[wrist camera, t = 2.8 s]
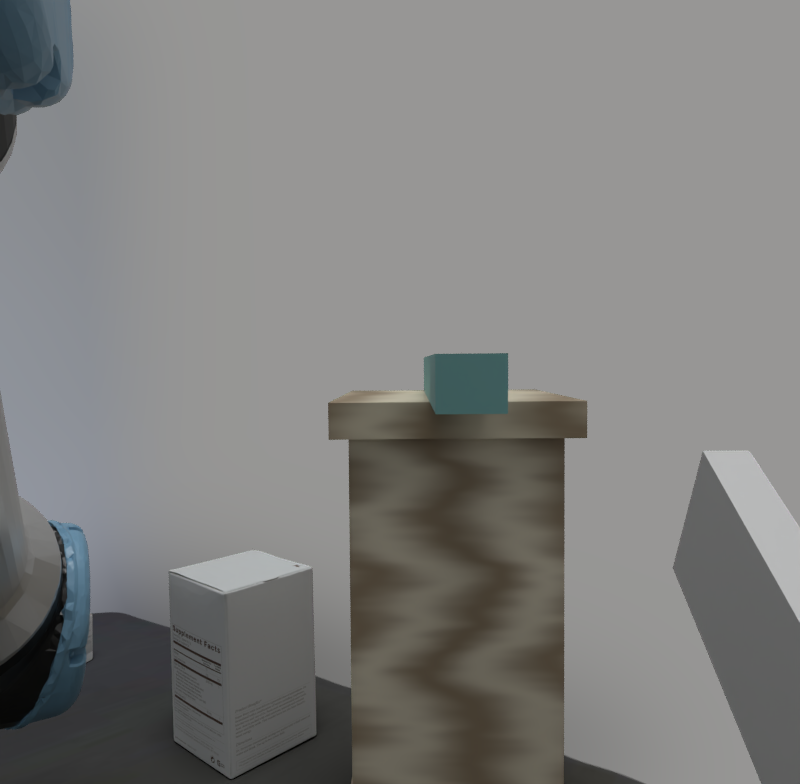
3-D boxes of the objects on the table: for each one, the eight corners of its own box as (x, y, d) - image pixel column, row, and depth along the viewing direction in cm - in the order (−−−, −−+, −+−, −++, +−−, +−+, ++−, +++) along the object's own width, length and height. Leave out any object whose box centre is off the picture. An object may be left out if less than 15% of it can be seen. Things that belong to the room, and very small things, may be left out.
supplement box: (257, 703, 67) (254, 546, 67) (319, 736, 61) (316, 565, 60) (169, 741, 61) (165, 568, 60) (228, 783, 54) (224, 590, 54)
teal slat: (435, 414, 29) (435, 354, 29) (424, 390, 53) (424, 357, 53) (508, 413, 29) (508, 353, 29) (464, 390, 53) (463, 357, 53)
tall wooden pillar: (334, 936, 40) (328, 402, 38) (356, 772, 56) (352, 390, 54) (585, 938, 40) (587, 400, 38) (535, 772, 55) (535, 389, 54)
